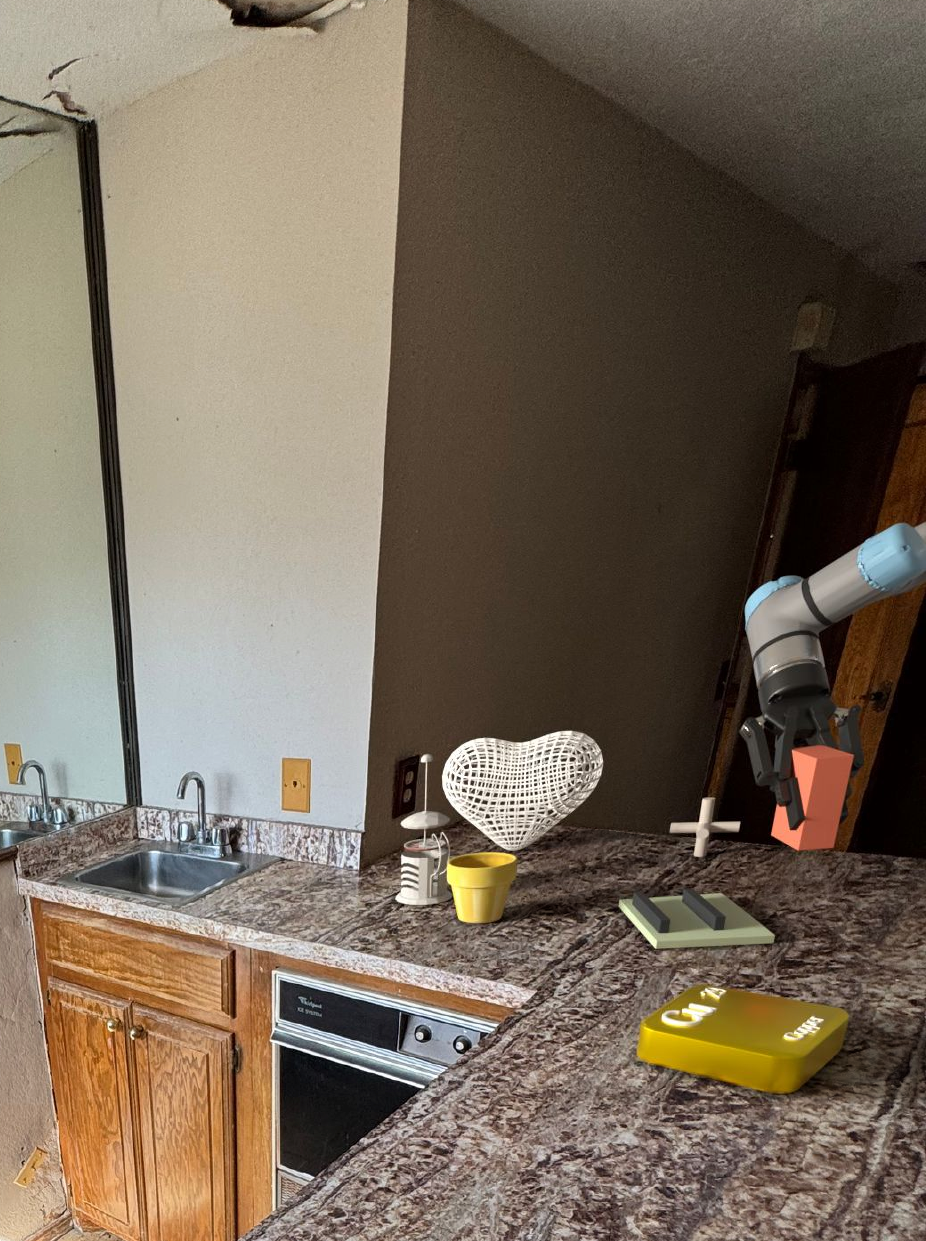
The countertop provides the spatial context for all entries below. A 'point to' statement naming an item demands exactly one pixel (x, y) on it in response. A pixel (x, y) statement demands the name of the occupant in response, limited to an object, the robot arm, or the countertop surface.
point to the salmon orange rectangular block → (816, 797)
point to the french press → (425, 859)
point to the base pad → (693, 921)
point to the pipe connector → (704, 827)
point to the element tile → (743, 1037)
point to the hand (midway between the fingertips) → (818, 822)
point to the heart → (530, 745)
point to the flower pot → (481, 884)
